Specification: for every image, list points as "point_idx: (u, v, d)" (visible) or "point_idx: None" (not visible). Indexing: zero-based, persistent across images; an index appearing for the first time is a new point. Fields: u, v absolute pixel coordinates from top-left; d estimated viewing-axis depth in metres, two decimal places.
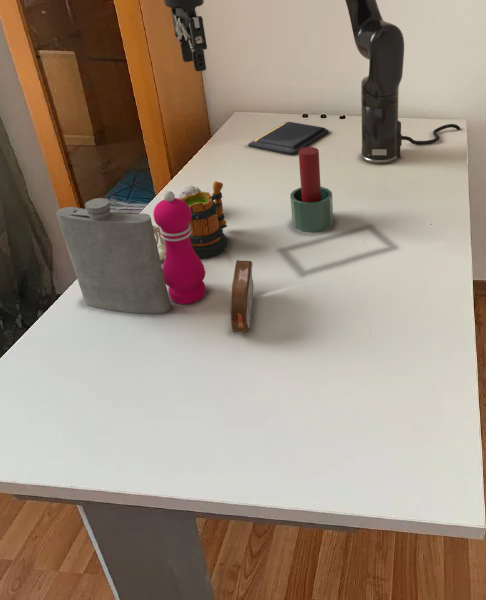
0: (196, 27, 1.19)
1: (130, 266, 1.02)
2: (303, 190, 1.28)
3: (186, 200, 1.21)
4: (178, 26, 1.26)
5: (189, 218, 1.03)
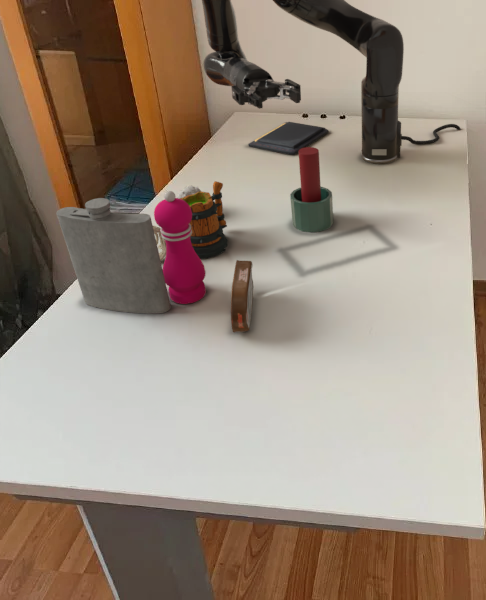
0: None
1: (130, 266, 1.02)
2: (303, 190, 1.28)
3: (186, 200, 1.21)
4: (258, 85, 1.34)
5: (190, 218, 1.03)
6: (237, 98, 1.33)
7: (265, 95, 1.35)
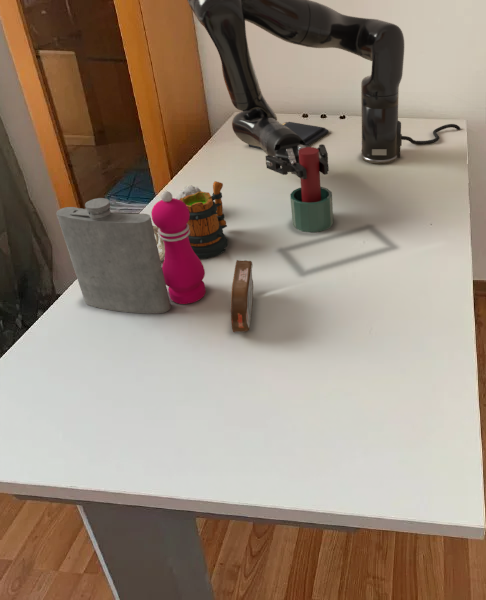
0: None
1: (130, 266, 1.02)
2: (303, 190, 1.28)
3: (186, 200, 1.21)
4: (292, 152, 1.29)
5: (187, 218, 1.02)
6: (277, 168, 1.27)
7: (297, 162, 1.29)
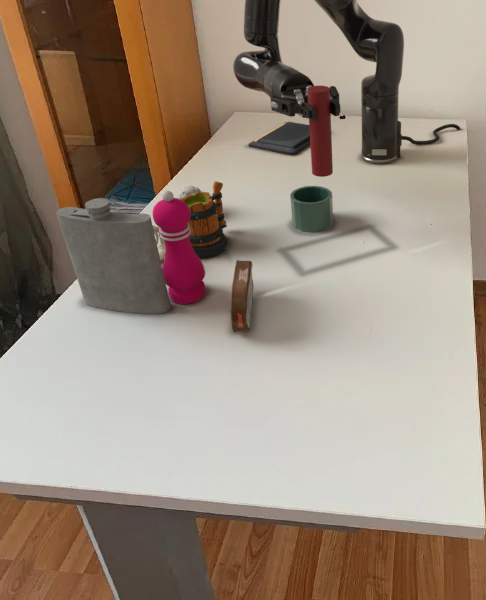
0: None
1: (130, 266, 1.02)
2: (312, 134, 1.15)
3: (186, 200, 1.21)
4: (300, 92, 1.16)
5: (188, 218, 1.03)
6: (283, 109, 1.14)
7: None
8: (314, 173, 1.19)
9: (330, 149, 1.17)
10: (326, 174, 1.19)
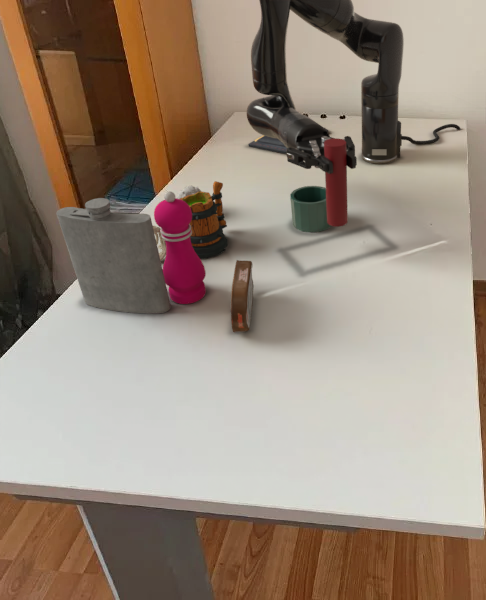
0: None
1: (130, 266, 1.02)
2: (328, 186, 1.16)
3: (186, 200, 1.21)
4: (316, 144, 1.17)
5: (189, 219, 1.02)
6: (299, 161, 1.15)
7: (322, 155, 1.17)
8: (329, 223, 1.20)
9: (346, 200, 1.18)
10: (341, 224, 1.20)
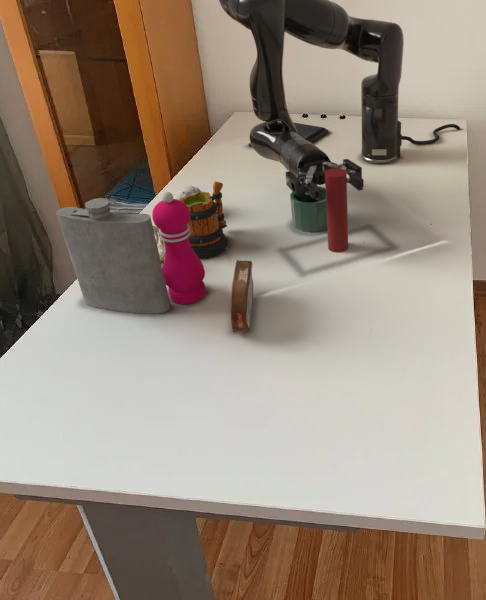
0: None
1: (130, 266, 1.02)
2: (329, 214, 1.19)
3: (186, 200, 1.21)
4: (315, 170, 1.20)
5: (187, 219, 1.02)
6: (292, 187, 1.19)
7: (323, 181, 1.20)
8: (330, 249, 1.23)
9: (346, 227, 1.21)
10: (342, 250, 1.23)
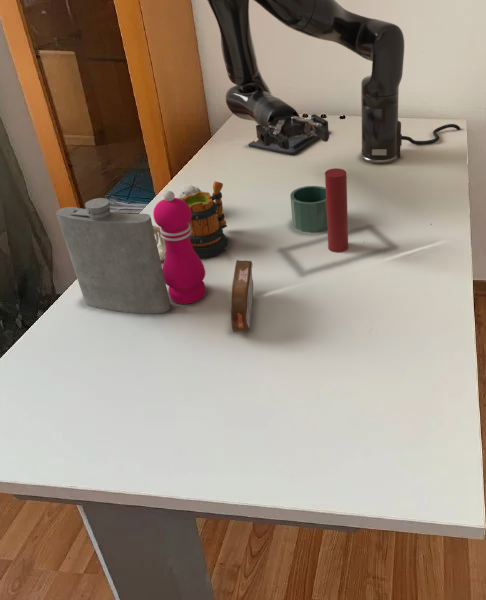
0: None
1: (130, 266, 1.02)
2: (329, 214, 1.19)
3: (186, 200, 1.21)
4: (283, 123, 1.27)
5: (188, 218, 1.03)
6: (262, 138, 1.26)
7: (291, 134, 1.28)
8: (330, 249, 1.23)
9: (346, 227, 1.21)
10: (342, 250, 1.23)
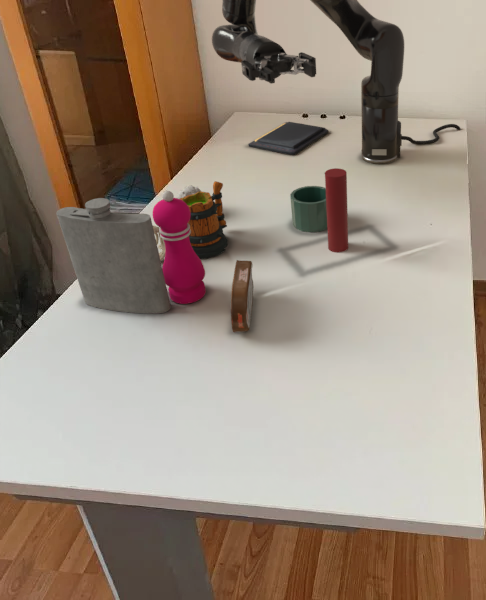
0: None
1: (130, 266, 1.02)
2: (329, 214, 1.19)
3: (186, 200, 1.21)
4: (269, 59, 1.24)
5: (187, 218, 1.02)
6: (247, 73, 1.23)
7: (278, 70, 1.24)
8: (330, 249, 1.23)
9: (346, 227, 1.21)
10: (342, 250, 1.23)
